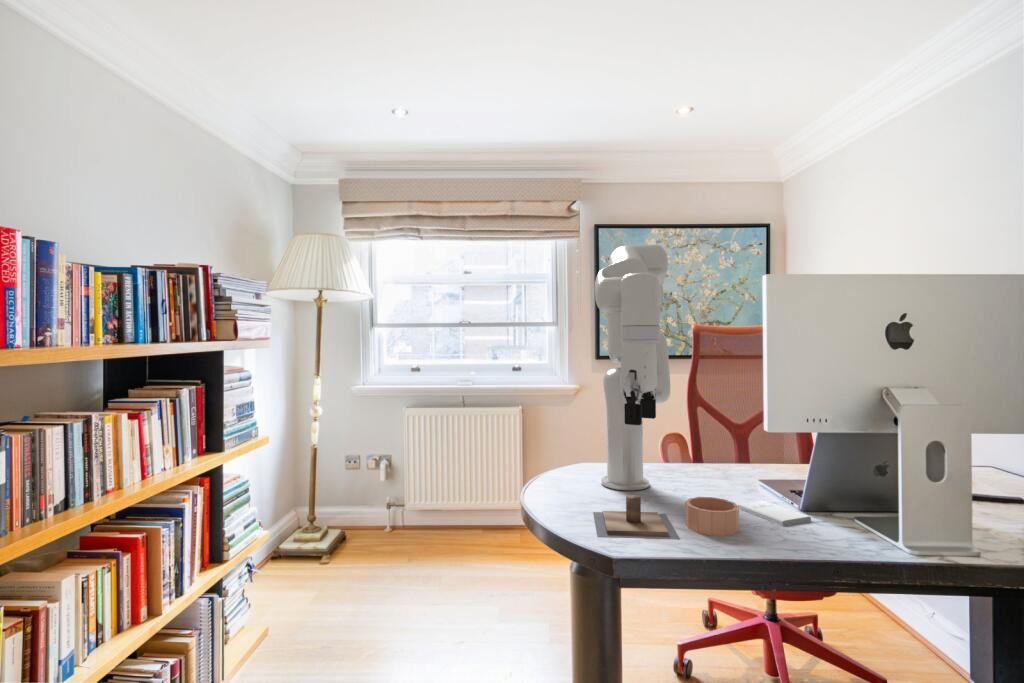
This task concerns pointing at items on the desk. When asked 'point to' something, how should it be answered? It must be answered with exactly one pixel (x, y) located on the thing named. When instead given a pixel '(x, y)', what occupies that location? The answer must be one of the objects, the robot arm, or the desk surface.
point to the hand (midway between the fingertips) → (640, 421)
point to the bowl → (712, 516)
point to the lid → (634, 520)
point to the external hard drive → (774, 512)
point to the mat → (602, 533)
